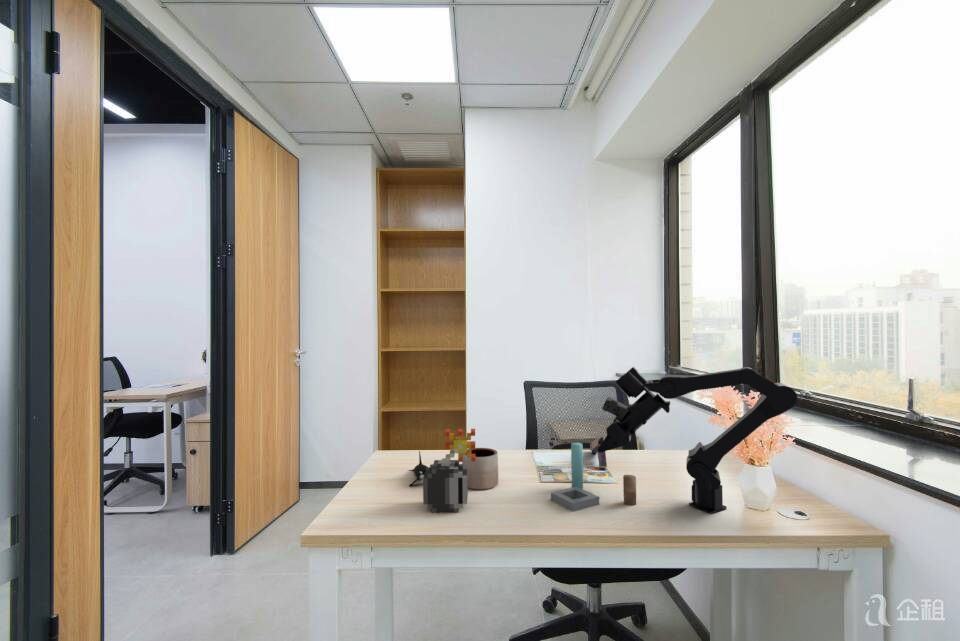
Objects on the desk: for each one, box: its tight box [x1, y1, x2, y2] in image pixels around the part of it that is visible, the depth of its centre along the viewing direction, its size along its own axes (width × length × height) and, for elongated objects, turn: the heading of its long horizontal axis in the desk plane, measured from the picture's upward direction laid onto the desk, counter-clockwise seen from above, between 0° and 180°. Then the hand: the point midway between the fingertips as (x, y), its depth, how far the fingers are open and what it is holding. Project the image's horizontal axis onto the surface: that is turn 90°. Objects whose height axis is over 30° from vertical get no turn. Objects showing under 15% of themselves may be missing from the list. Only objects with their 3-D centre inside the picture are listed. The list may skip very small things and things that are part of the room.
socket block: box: [550, 486, 600, 512], centre depth 122 cm, size 9×9×2 cm
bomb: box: [422, 428, 476, 514], centre depth 120 cm, size 8×13×20 cm, turn 90°
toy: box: [407, 450, 430, 487], centre depth 143 cm, size 21×10×10 cm, turn 20°
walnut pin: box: [622, 474, 637, 507], centre depth 121 cm, size 3×3×7 cm
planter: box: [461, 447, 499, 491], centre depth 137 cm, size 11×11×10 cm
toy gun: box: [589, 435, 608, 469], centre depth 160 cm, size 2×21×10 cm, turn 175°
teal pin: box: [570, 442, 584, 490], centre depth 132 cm, size 3×3×13 cm
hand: (601, 447), depth 129 cm, fingers open, 9 cm apart
